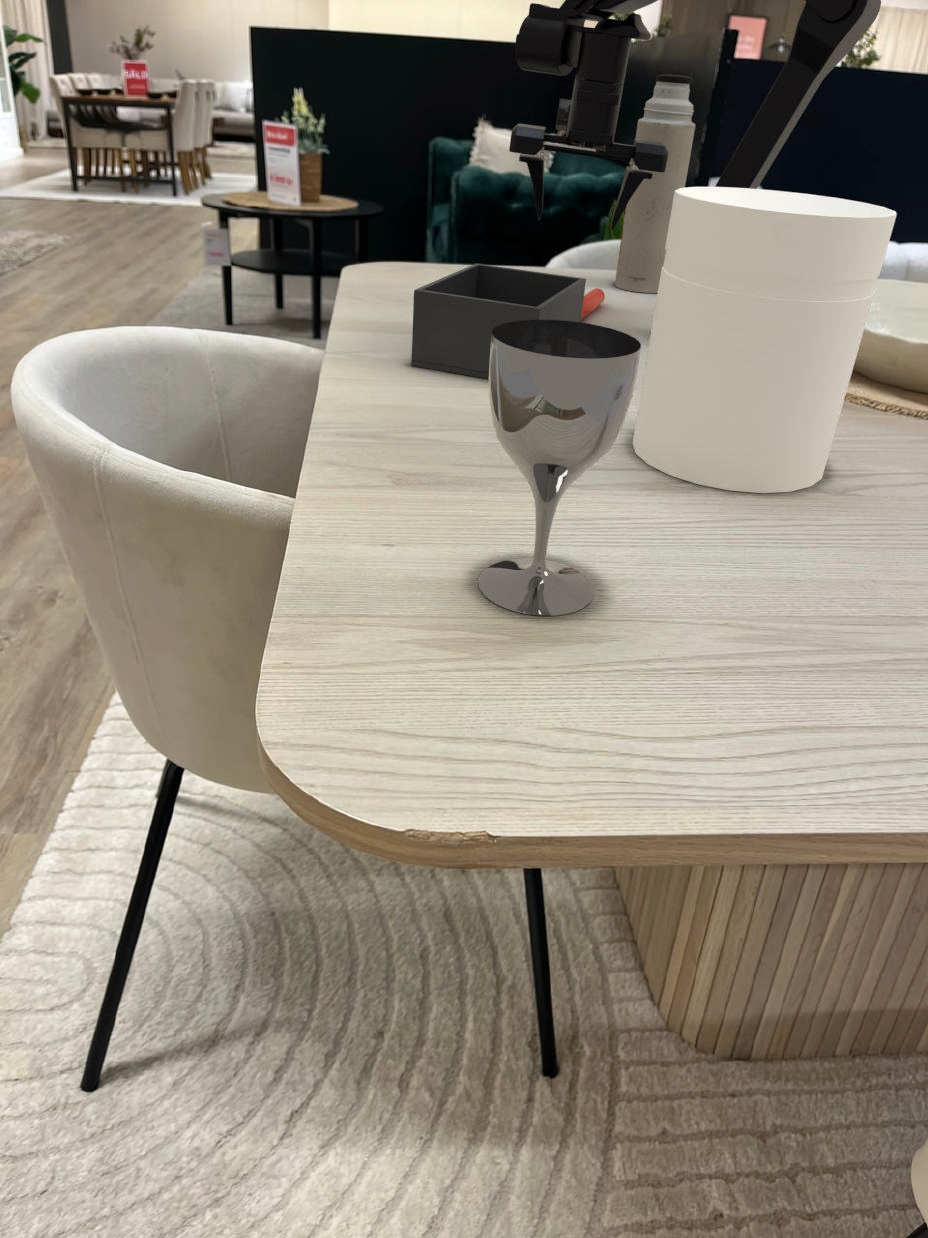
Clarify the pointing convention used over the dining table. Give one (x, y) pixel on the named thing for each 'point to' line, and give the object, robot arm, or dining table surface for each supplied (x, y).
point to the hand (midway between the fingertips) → (575, 224)
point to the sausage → (592, 301)
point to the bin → (484, 313)
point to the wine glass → (554, 438)
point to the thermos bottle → (656, 185)
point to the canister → (756, 334)
